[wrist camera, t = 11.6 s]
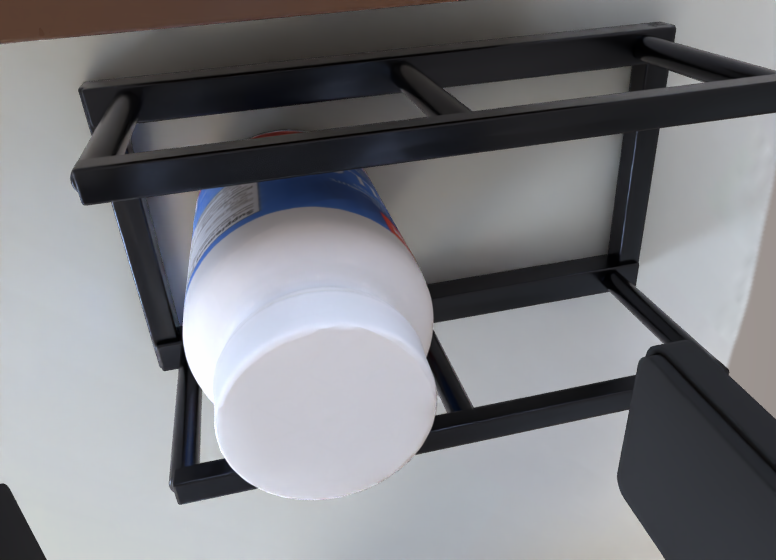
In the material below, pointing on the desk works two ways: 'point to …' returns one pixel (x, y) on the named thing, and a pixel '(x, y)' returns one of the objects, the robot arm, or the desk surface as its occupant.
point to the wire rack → (407, 144)
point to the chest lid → (156, 14)
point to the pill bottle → (309, 333)
